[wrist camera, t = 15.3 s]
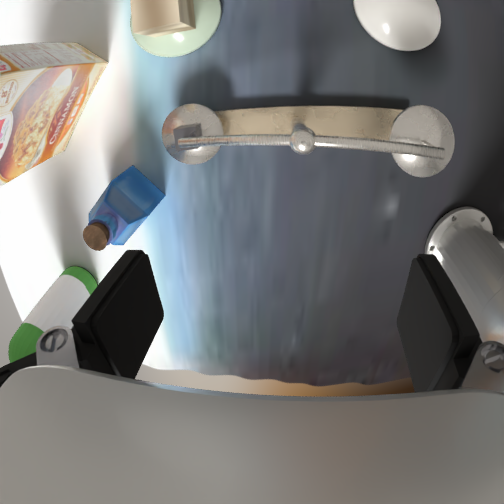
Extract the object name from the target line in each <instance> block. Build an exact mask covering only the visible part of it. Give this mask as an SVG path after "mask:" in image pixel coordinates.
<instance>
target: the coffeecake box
mask: <svg viewBox="0 0 504 504" xmlns="http://www.w3.org/2000/svg"><path fill="white" fill-rule="evenodd" d="M107 64H108V62H107V61H105V60H103V59H102V58H100V57H99V56H97V55H95V54H94V53H92V52H91V51H89V50H87V49H86V48H84V47H83V46H81V45H79V44H78V43H70V42H57V43H28V44H14V45H3V46H0V187H1V186H3V185H4V184H6V183H7V182H9V181H11V180H12V179H14V178H16V177H17V176H19V175H21V174H22V173H24V172H26V171H27V170H29V169H31V168H33V167H35V166H36V165H38V164H40V163H42V162H44V161H45V160H47V159H49V158H51V157H53V156H55V155H57V154H59V153H61V152H63V151H65V149H66V147H67V144H68V142H69V139H70V137H71V135H72V133H73V130H74V128H75V126H76V124H77V122H78V119H79V117H80V115H81V113H82V111H83V109H84V107H85V105H86V103H87V101H88V99H89V97H90V95H91V93H92V91H93V89H94V87H95V85H96V84H97V82H98V80H99V78H100V76H101V75H102V73H103V71H104V69H105V68H106V66H107Z"/></svg>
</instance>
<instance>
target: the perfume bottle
mask: <svg viewBox="0 0 504 504" xmlns="http://www.w3.org/2000/svg"><path fill="white" fill-rule="evenodd" d="M165 196H166V195H164V194H163V193H162V192H161V191H160V190H159V189H158V188H157V187H156V186H155V185H154V184H153V183H151V182H150V181H149V180H148V179H147V178H146V177H145V176H144V175H143V174H142V173H141V172H140V171H139V170H137V169H136V168H135V167H134V166H133V165H132V166H131V167H130V168H128V169H127V170H126V171H124V172H123V173H122V174H120V175H119V176H118V177H116V178H115V179H114V180H112V181H111V183H110V184H109V185H108V187H107V188H106V190H105V191H104V192H103V194H102V195H101V197H100V198H99V200H98V201H97V202H96V204H95V205H94V207H93V208H92V210H91V211H90V213H89V223H88V226H87V227H86V228H85V229H84V231H83V238H84V240H85V242H86V244H87V245H88V246H89V247H90V248H92V249H94V250H98V251H100V250H103V249H104V248H105V247H106V245H109V244H110V243H111V244H112V245H124V244H125V242H126V241H127V240H128V239H129V238H130V237H131V235H132V234H133V233H134V232H135V231H136V230H137V228H138V227H139V226H140V225H141V224H142V223H143V221H144V220H145V219H146V218H147V217H148V216H149V215H150V213H151V212H152V211H153V210H154V209H155V207H156V206H157V205H158V204H159V203H160V201H161V200H162V199H163V198H164V197H165Z"/></svg>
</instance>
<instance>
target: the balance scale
mask: <svg viewBox="0 0 504 504" xmlns="http://www.w3.org/2000/svg"><path fill="white" fill-rule="evenodd" d="M162 139H163V143H164V146H165V148H166V150H167V151H168V153H169V154H170V155H171V156H172V157H173V158H175V159H176V160H178V161H180V162H182V163H186V164H200V163H204V162H206V161H208V160H209V159H211V158H212V157H213V156H214V155H215V154H216V153H217V152H218V150H219V149H220V147H221V146H243V145H267V146H290V147H291V148H292V150H293V151H295V152H296V153H298V154H309V153H311V152H312V151H313V150H314V149H315V148H316V147H328V148H343V149H357V150H368V151H379V152H388V153H391V154H392V157H393V159H394V160H395V162H396V163H397V164H398V165H399V166H400V167H401V168H402V169H403V170H404V171H405V172H407V173H409V174H411V175H413V176H417V177H429V176H432V175H435V174H437V173H438V172H440V171H441V170H442V169H444V167H445V166H446V165H447V164H448V162H449V161H450V159H451V157H452V154H453V151H454V144H455V139H454V132H453V129H452V126H451V124H450V122H449V121H448V119H447V118H446V117H445V116H444V115H443V114H442V113H441V112H440V111H438V110H437V109H435V108H432V107H429V106H425V105H414V106H411V107H408V108H406V109H395V108H382V107H365V106H336V105H302V106H272V107H255V108H241V109H230V110H220V111H213V110H212V109H210V108H208V107H206V106H204V105H201V104H186V105H183V106H180V107H178V108H176V109H175V110H173V111H172V112H171V113H170V114H169V115H168V116H167V118H166V120H165V122H164V124H163V128H162Z"/></svg>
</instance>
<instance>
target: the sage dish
mask: <svg viewBox="0 0 504 504" xmlns="http://www.w3.org/2000/svg"><path fill="white" fill-rule="evenodd" d="M193 4H194V15H195V26H196V29H193V30H188V31H182V32H177V33H172V34H168V35H163V36H159V37H150V36H145V35H140V34H135V33H133V27H132V15H131V19H130V27H131V32H132V35H133V37H134V39H135V41H136V42H137V44H138V45H139V46H140V47H141V48H142V49H144V50H145V51H147V52H148V53H151V54H153V55H156V56H161V57H179V56H184V55H187V54H190V53H192V52H194V51H196V50H198V49H199V48H201V47H202V46H203V45H205V44H206V43H207V42H208V41H209V40H210V39H211V38H212V36H213V35H214V34H215V32H216V30H217V28H218V26H219V24H220V20H221V15H222V7H221V2H220V0H193Z"/></svg>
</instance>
